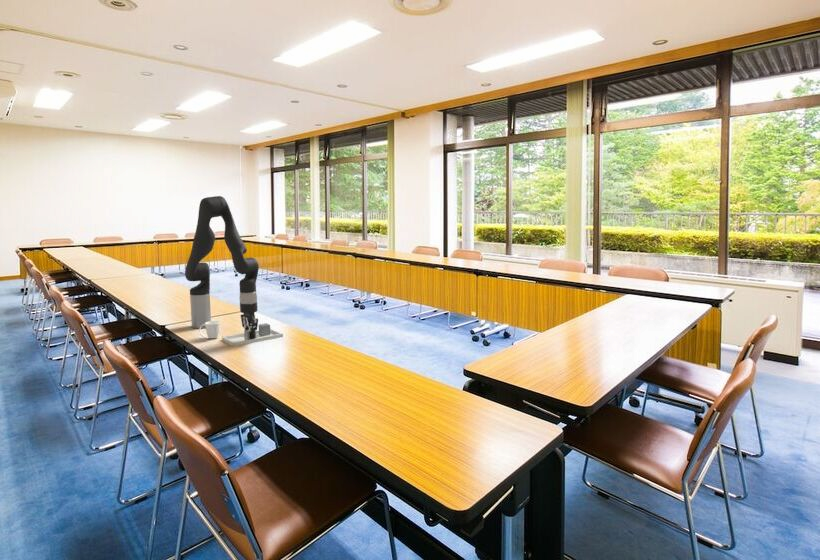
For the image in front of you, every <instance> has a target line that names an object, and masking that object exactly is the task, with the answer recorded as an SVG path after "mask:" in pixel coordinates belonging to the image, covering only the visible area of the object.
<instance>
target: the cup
mask: <svg viewBox="0 0 820 560" xmlns="http://www.w3.org/2000/svg"><path fill="white" fill-rule="evenodd" d="M203 325H204V326H205V327H206V328H205V331H206V335H207V336H205V335H204V334H203V333H202V328H201V327H202V325H201V326H200V328H198V330H199V331H198V332H199V334H200V336H201V337H203V338H204V339H217V338H219V334H220V328H221V327H220V326H221V321H218V320H211V321H209V322H205V324H203Z"/></svg>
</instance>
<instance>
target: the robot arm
mask: <svg viewBox="0 0 820 560" xmlns="http://www.w3.org/2000/svg"><path fill="white" fill-rule="evenodd" d="M219 217H221V218H222V220H223V223H224V234H223V235H224V236H223V238H224V242H225V245H226V247H227V249H228V251H229V252H230V255H231V259H232V263H233V268H234V270H235V271H236V272H237V274H240V275H245V276H244V277H243V278H242V279H240V280H239V311H240V313H241V314H240V319H241V325H242V328H243V329H244V330H249V335H250V339H255V331H258V327H259V318H256V315H255V313H257V312H258V296H257V279H258V275H259V270H260V269H259V268H260V266H259V262H258V260H257V259H256V258H254V257H246V258H245V256H244V255H245V254H246V253H247V251H248V250H247V247H246V245H245V243H244V241H243V239H242V237H241V236H240V234H239V232H238V229H237V225H236V223H235V220H234V217H233V214H232V211H231V209H230V206H229V203H228V202H227V200H226V199H225V197H223V196H222V195H218V196H217V195H215V196H207V197H204V198H202V199H201V200H200V203H199V207H198V217H197V224H196V229H195V233H194V237H193V241H192V246H191V251H190V254H189V257H188V260H187V262H186V266H185V269H184V275H185V279H186V280H187V281H188V282H199V283H198V284H197V285H195V286H192V287H191V288H190V289H189V299H190V317H191V319H190V320H191V328H192V329H200V326H201V325H202V327H201V329H206V327H205V326H204V325H203V324H205V322H209V321H212V315H211V314H212V313H211V292H210V289H211V283H210V282H211V272H210V265H209V263H208V262H201V261H202V260H203V259H204V258H206V257H207V256H208V255H209V254H210V253H211V252H212V251H213V249H214V246H215V242H216V235H215V233H214V231H213V229H212V228H211V226H210V225H211V224H210V223H211V220H212V219H213V218H219Z"/></svg>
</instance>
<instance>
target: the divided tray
mask: <svg viewBox="0 0 820 560" xmlns="http://www.w3.org/2000/svg"><path fill="white" fill-rule="evenodd" d="M255 331H256V338H255V339H250V340H244V332H242V333H236V334H235V333H234V334H231V335H225V336H221V340H222V341H223V342H224V343H227V344H228V345H231V346H232V347H236V346H243V345H247V344H252V343H259V342H262V341H267V340H268V341H269V340H274V339H278V338H283V337H284V334H283V333H282V332H279V331H277V330H275V329H272V328H270V335H267V336H261V335H259V329H257V330H255Z"/></svg>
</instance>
